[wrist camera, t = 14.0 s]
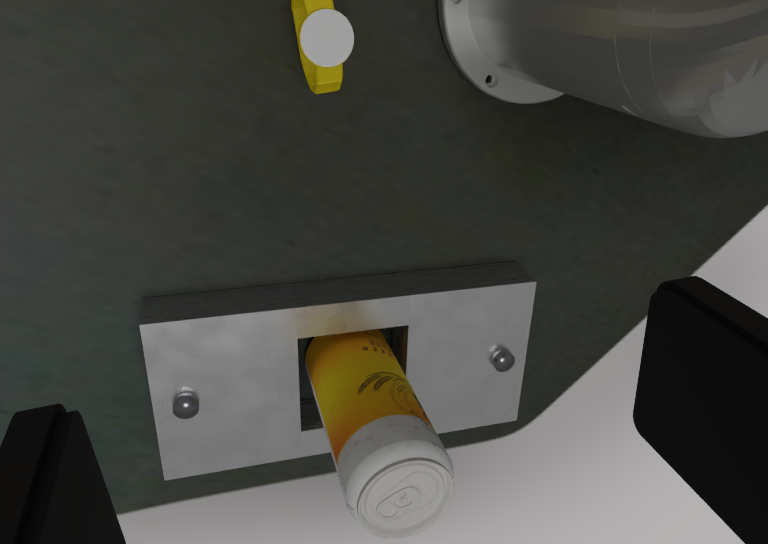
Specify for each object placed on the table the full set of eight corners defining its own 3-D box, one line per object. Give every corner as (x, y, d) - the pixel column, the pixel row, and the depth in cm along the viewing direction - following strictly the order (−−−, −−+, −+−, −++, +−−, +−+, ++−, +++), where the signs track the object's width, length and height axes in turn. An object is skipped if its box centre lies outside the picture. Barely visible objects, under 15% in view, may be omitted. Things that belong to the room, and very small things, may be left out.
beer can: (398, 356, 47) (478, 501, 34) (330, 399, 47) (384, 561, 34) (359, 298, 44) (431, 434, 31) (287, 344, 44) (328, 500, 31)
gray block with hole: (513, 261, 47) (540, 285, 43) (497, 393, 52) (520, 424, 48) (142, 298, 40) (138, 330, 36) (165, 446, 45) (164, 486, 42)
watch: (273, -21, 35) (286, -29, 29) (322, -27, 35) (344, -37, 30) (294, 90, 37) (310, 101, 32) (339, 82, 38) (363, 92, 32)
